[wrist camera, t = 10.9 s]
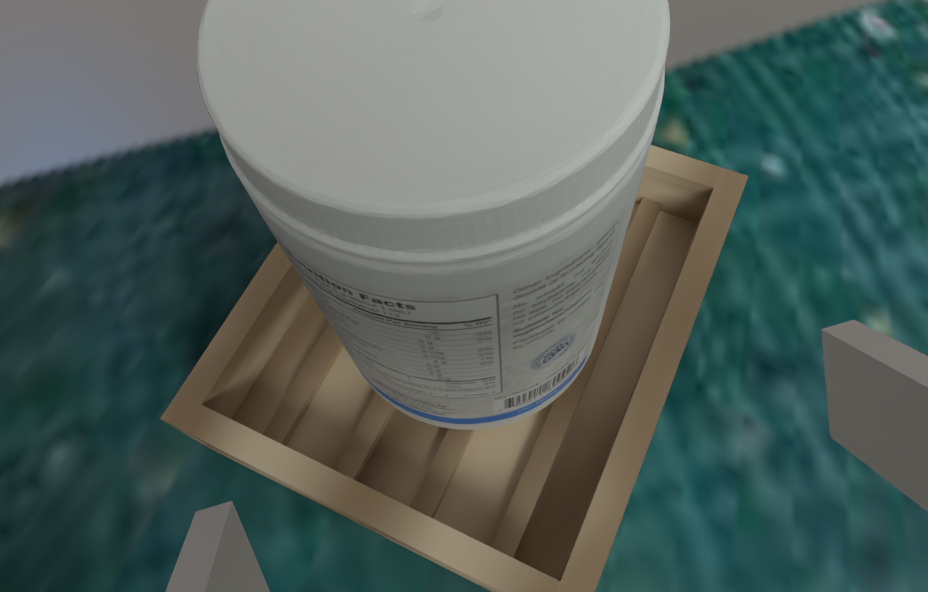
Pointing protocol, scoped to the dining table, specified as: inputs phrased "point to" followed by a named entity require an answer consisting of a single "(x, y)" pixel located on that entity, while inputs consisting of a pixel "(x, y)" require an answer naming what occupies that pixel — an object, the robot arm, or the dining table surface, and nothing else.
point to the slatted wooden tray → (482, 450)
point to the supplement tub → (444, 177)
